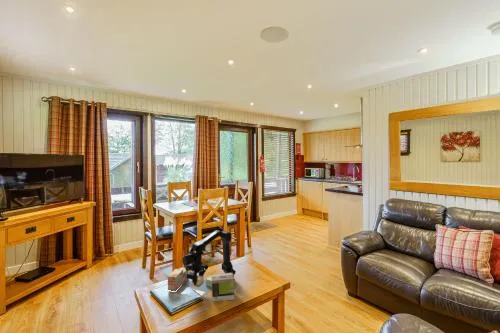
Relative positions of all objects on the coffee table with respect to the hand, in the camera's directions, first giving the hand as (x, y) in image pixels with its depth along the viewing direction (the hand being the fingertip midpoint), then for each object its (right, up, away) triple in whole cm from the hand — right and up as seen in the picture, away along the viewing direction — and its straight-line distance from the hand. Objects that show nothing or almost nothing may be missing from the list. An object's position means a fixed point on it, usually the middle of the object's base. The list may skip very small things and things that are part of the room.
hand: (197, 283), depth 174 cm
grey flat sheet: (-1, -8, +8) cm, 11 cm away
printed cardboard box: (-17, -8, +12) cm, 23 cm away
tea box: (+18, -9, -3) cm, 20 cm away
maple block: (0, -1, 0) cm, 1 cm away
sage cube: (+7, -7, +12) cm, 16 cm away
